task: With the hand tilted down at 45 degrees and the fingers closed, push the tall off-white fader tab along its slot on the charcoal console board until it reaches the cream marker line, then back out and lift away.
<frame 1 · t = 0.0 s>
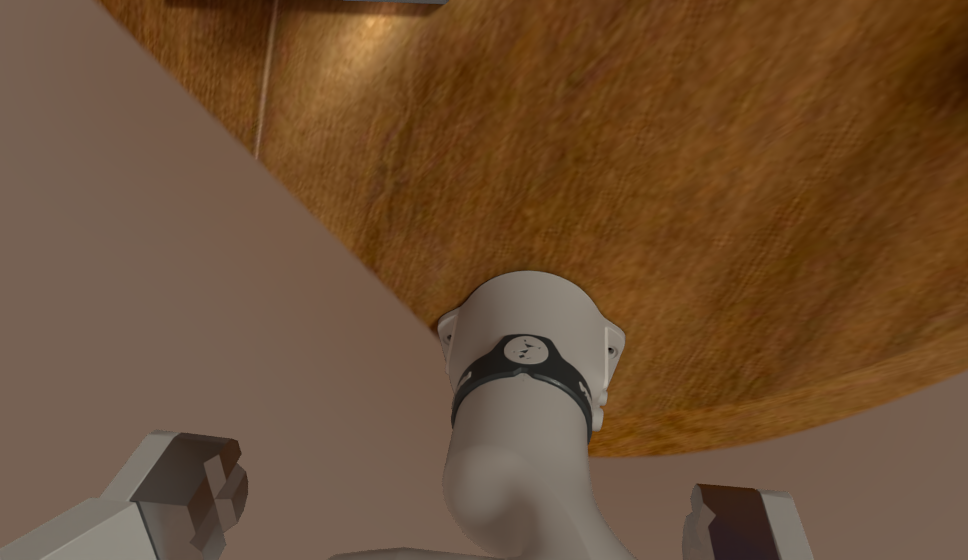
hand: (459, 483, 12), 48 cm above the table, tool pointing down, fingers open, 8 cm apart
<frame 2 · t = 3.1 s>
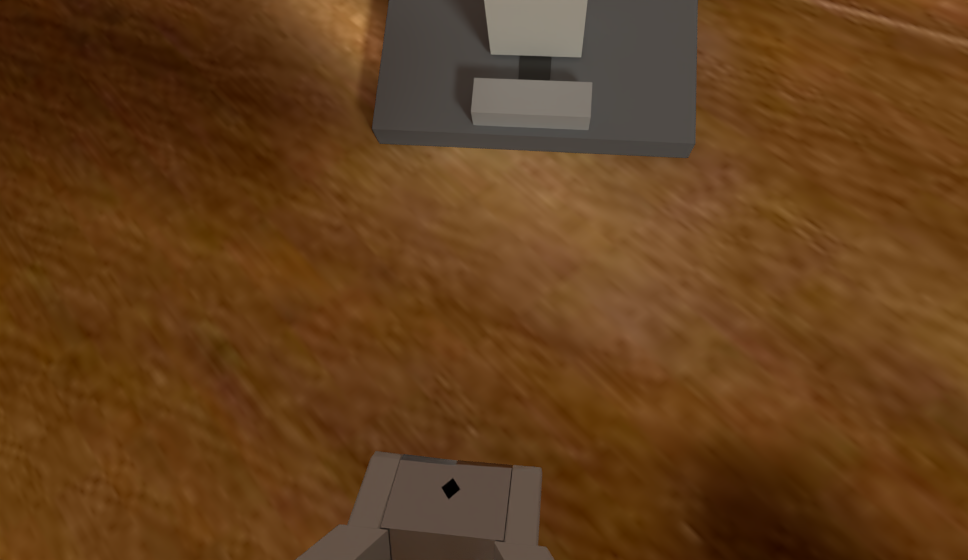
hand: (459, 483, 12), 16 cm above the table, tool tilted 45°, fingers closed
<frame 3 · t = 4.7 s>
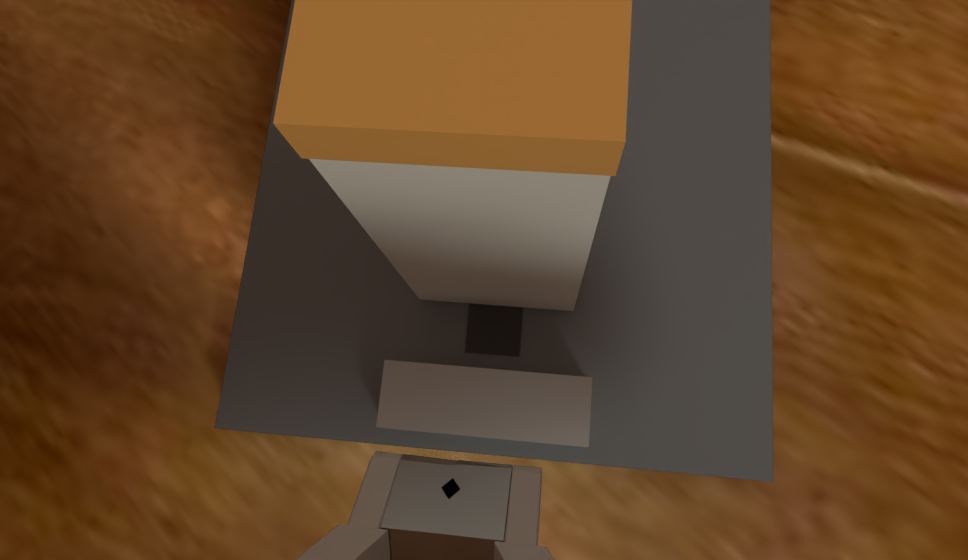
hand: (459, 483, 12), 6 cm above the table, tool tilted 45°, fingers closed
console board: (519, 86, 21), on the table
fader tab: (486, 188, 13), point 7 cm above the table, slide at -6.0 cm
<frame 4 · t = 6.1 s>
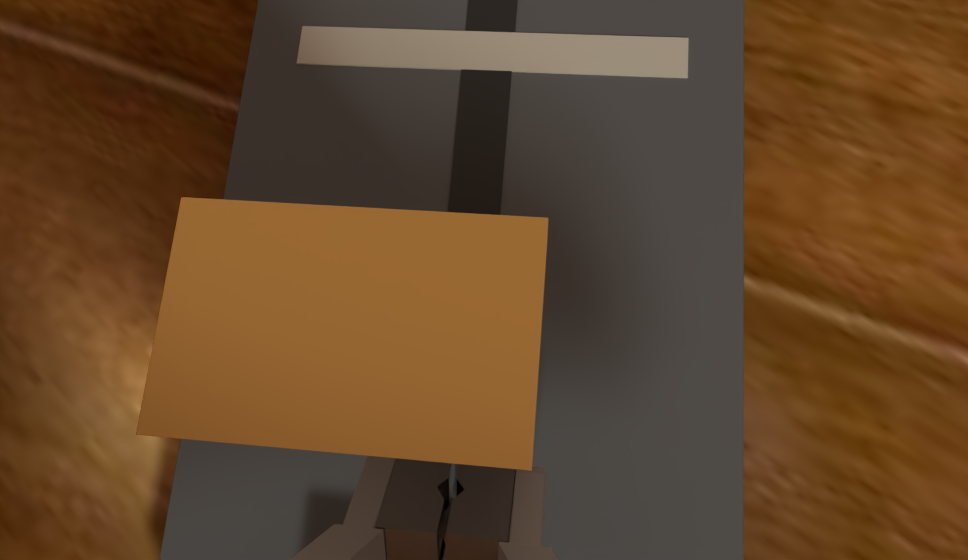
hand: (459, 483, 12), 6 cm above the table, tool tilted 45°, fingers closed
console board: (479, 220, 20), on the table
fader tab: (423, 370, 12), point 7 cm above the table, slide at -5.0 cm, touching gripper
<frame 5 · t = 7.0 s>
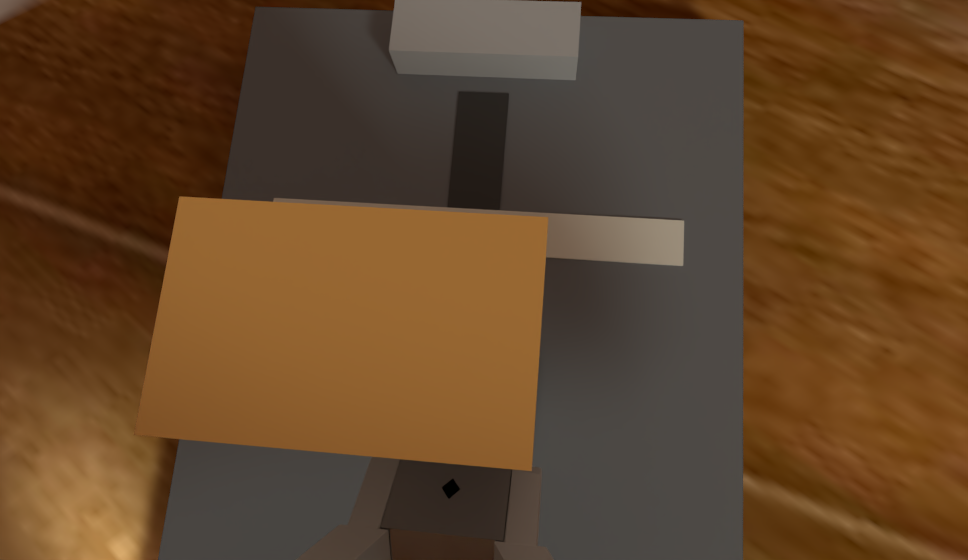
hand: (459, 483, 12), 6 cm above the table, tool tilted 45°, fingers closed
console board: (462, 405, 18), on the table
fader tab: (422, 370, 12), point 7 cm above the table, slide at 0.3 cm, touching gripper
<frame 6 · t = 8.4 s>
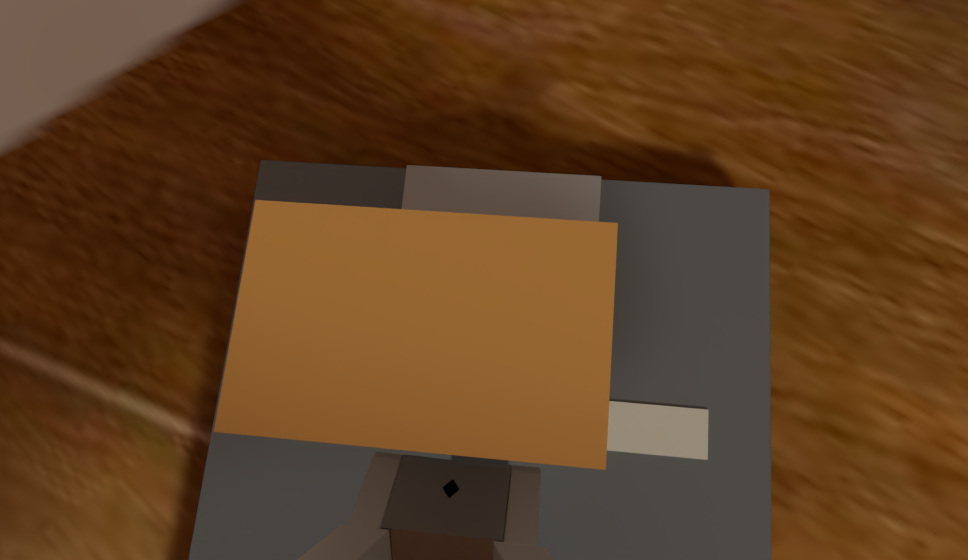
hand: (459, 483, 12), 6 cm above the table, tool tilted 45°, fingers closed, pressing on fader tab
fader tab: (465, 374, 12), point 7 cm above the table, slide at 5.0 cm, touching gripper
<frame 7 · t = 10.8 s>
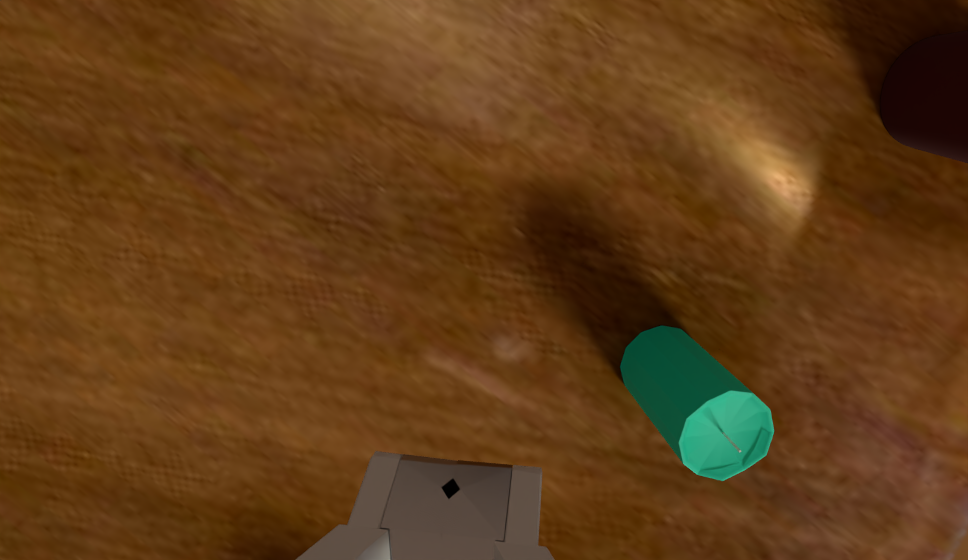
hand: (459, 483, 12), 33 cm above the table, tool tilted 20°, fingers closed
candle: (658, 362, 50), on the table
mug: (945, 77, 46), on the table
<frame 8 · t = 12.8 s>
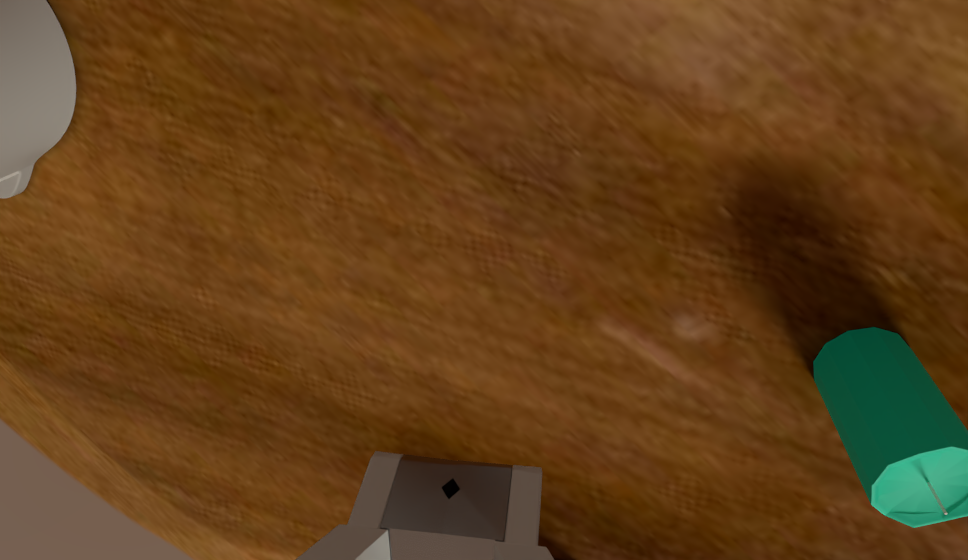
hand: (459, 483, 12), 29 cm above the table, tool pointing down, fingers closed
candle: (860, 362, 44), on the table
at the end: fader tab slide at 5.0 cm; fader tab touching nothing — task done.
